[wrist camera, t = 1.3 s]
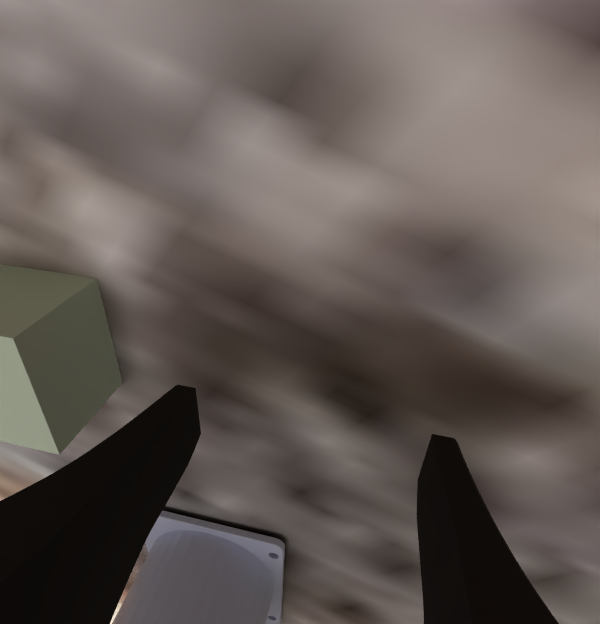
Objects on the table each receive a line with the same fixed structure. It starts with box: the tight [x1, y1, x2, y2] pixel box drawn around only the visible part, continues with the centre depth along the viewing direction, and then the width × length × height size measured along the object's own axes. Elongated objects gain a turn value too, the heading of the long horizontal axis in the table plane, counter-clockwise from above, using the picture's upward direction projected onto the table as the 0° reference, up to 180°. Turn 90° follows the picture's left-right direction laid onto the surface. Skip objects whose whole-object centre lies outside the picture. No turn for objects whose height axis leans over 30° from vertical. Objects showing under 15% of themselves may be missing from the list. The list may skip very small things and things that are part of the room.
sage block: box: [0, 264, 122, 455], centre depth 15 cm, size 5×5×4 cm
